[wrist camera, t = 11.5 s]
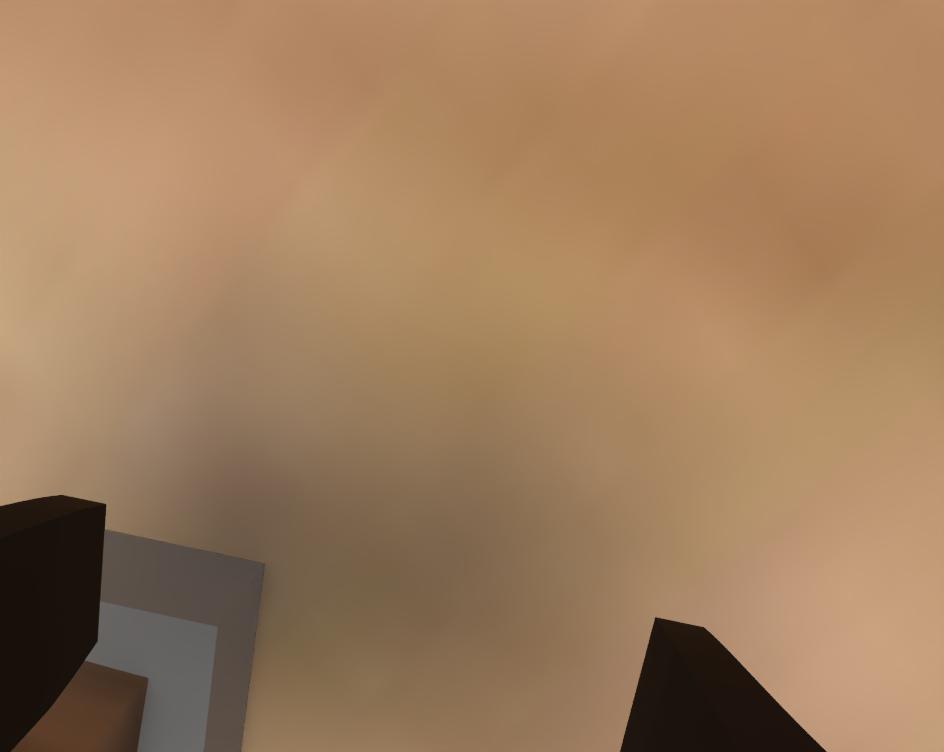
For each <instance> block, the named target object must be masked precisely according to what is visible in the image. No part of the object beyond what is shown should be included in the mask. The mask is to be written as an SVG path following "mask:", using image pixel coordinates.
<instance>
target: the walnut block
mask: <svg viewBox="0 0 944 752" xmlns="http://www.w3.org/2000/svg"><path fill="white" fill-rule="evenodd" d="M147 684H148V678H147V677H143V676H139V675H136V674H132V673H128V672H125V671H121V670H117V669H114V668H110V667H106V666H103V665H99V664H95V663H92V662H88V661H84V662H83V664H82V665H81V667H80V668H79V670H78V671H77V673H76V674H75V675H74V677H73V678H72V680H71V681H70V682H69V684H68V685H67V686H66V688H65V689H64V690H63V692H62V693H61V695H60V696H59V697H58V699H57V700H56V701H55V703H54V704H53V705H52V707H51V708H50V709H49V710H48V711H47V712H46V714H45V715H44V716H43V717H42V718H41V719H40V720H39V721H38V723H37V724H36V725H35V726H34V727H33V728H32V729H31V730H30V731H29V732H28V733H27V735H26V736H25V737H24V738H23V739H22V740H21V741H20V742H19V743H18V744H17V745H16V747H15V748H14V749H13V750H12V751H11V752H137V749H138V743H139V736H140V730H141V723H142V717H143V710H144V704H145V697H146V691H147Z"/></svg>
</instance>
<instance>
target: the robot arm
mask: <svg viewBox="0 0 944 752" xmlns="http://www.w3.org/2000/svg"><path fill="white" fill-rule="evenodd" d="M105 516H106V504H103V503H98V502H93V501H89V500H84V499H79V498H74V497H69V496H64V495H58V496H50V497H43V498H37V499H32V500H27V501H22V502H17V503H13V504H8V505H4V506H0V752H11V751H12V750H13V749H14V748H15V747H16V745H17V744H18V743H19V742H20V741H21V740H22V739H23V738H24V737H25V736H26V735H27V733H28V732H29V731H30V730H31V729H32V728H33V727H34V726H35V725H36V724H37V723H38V721H39V720H40V719H41V718H42V717H43V716H44V715H45V714H46V712H47V711H48V710H49V709H50V708H51V707H52V705H53V704H54V703H55V701H56V700H57V699H58V697H59V696H60V695H61V693H62V692H63V690H64V689H65V688H66V686H67V685H68V684H69V682H70V681H71V680H72V678H73V677H74V675H75V674H76V673H77V671H78V670H79V668H80V667H81V665H82V664H83V662H84V661H85V659H86V658H87V656H88V655H89V654H90V652H91V651H92V649H93V648H94V646H95V645H96V643H97V642H98V628H99V612H100V596H101V580H102V564H103V548H104V532H105ZM620 752H826V751H825V750H824V749H823V748H822V747H821V746H820V745H819V744H818V743H817V742H816V741H815V740H814V739H813V738H812V737H811V736H810V735H809V734H808V733H807V732H806V731H805V730H804V729H803V728H802V727H801V726H800V725H799V724H798V723H797V722H796V721H795V720H794V719H793V718H792V717H791V716H790V715H789V714H788V713H787V712H786V711H785V710H784V709H783V708H782V707H781V706H780V704H779V703H778V702H777V701H776V700H775V699H774V698H773V697H772V696H771V695H770V694H769V693H768V692H767V691H766V690H765V689H764V688H763V687H762V686H761V685H760V684H759V682H758V681H757V680H756V679H755V678H754V677H753V676H752V675H751V674H750V673H749V672H748V671H747V670H746V669H745V668H744V667H743V666H742V664H741V663H740V662H739V661H738V660H737V659H736V658H735V657H734V656H733V655H732V654H731V653H730V652H729V651H728V650H727V649H726V648H725V647H724V646H723V645H722V644H721V643H720V642H719V641H718V640H717V639H716V638H715V637H714V636H713V635H712V634H711V633H710V632H709V631H707V630H706V629H705V628H704V627H700V626H695V625H690V624H685V623H680V622H676V621H671V620H666V619H661V618H656V617H655V621H654V625H653V628H652V632H651V636H650V640H649V644H648V647H647V651H646V655H645V659H644V663H643V666H642V670H641V674H640V678H639V682H638V686H637V689H636V693H635V697H634V701H633V705H632V708H631V712H630V716H629V720H628V724H627V727H626V731H625V735H624V739H623V743H622V746H621V750H620Z"/></svg>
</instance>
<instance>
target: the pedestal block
mask: <svg viewBox="0 0 944 752" xmlns="http://www.w3.org/2000/svg"><path fill="white" fill-rule="evenodd" d="M264 565H265V564H264V563H259V562H254V561H250V560H245V559H240V558H236V557H231V556H226V555H222V554H217V553H212V552H208V551H203V550H198V549H194V548H189V547H184V546H180V545H175V544H170V543H166V542H161V541H156V540H152V539H147V538H142V537H138V536H133V535H128V534H124V533H119V532H114V531H110V530H105V532H104V548H103V564H102V580H101V596H100V612H99V628H98V642H97V643H96V645H95V646H94V648H93V649H92V651H91V652H90V654H89V655H88V656H87V658H86V659H85V661H88V662H92V663H95V664H99V665H103V666H106V667H110V668H114V669H117V670H121V671H125V672H128V673H132V674H136V675H139V676H143V677H147V678H148V684H147V691H146V697H145V704H144V710H143V717H142V723H141V730H140V736H139V743H138V749H137V752H241V745H242V737H243V729H244V721H245V713H246V706H247V698H248V690H249V682H250V674H251V666H252V659H253V651H254V643H255V635H256V627H257V619H258V612H259V604H260V596H261V588H262V580H263V572H264Z"/></svg>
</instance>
